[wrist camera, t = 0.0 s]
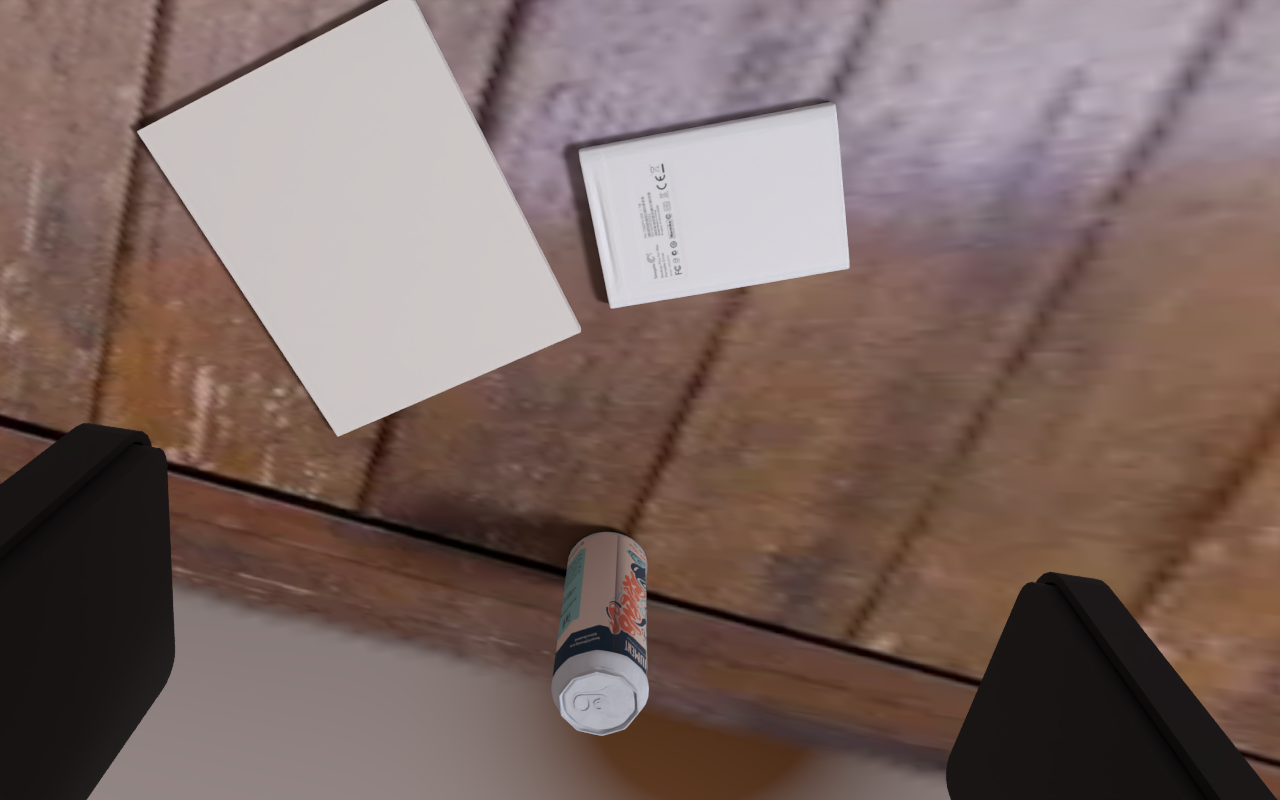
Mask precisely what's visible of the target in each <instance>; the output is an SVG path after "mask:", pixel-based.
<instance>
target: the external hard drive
mask: <svg viewBox="0 0 1280 800" xmlns="http://www.w3.org/2000/svg"><path fill="white" fill-rule="evenodd" d="M579 158H580V164H581V168H582V173H583V177H584V182H585V187H586V192H587V197H588V202H589V207H590V211H591V217H592V221H593V226H594V231H595V236H596V241H597V246H598V251H599V256H600V261H601V266H602V271H603V276H604V281H605V286H606V291H607V296H608V301H609V305H610V308H618V307H624V306H629V305H635V304H642V303H648V302H654V301H660V300H666V299H673V298H679V297H685V296H691V295H697V294H702V293H708V292H714V291H720V290H726V289H732V288H738V287H744V286H750V285H756V284H762V283H768V282H774V281H780V280H786V279H792V278H797V277H803V276H808V275H814V274H820V273H826V272H832V271H838V270H843V269H848V268H849V252H848V240H847V228H846V217H845V205H844V194H843V182H842V170H841V159H840V147H839V133H838V122H837V112H836V105H835V104H834V103H832V102H827V103H822V104H817V105H811V106H806V107H800V108H794V109H790V110H784V111H779V112H774V113H769V114H763V115H758V116H753V117H747V118H742V119H736V120H731V121H725V122H721V123H715V124H710V125H704V126H699V127H694V128H688V129H683V130H677V131H672V132H667V133H661V134H656V135H650V136H645V137H640V138H634V139H629V140H624V141H618V142H613V143H608V144H603V145H596V146H591V147H586V148H581V149H580V150H579Z"/></svg>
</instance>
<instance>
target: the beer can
mask: <svg viewBox="0 0 1280 800" xmlns="http://www.w3.org/2000/svg"><path fill="white" fill-rule="evenodd" d="M646 574H647V559H646V555H645V553H644V551H643V550H642V548H641V547H640V546H639V545H638V544H637V543H636V542H635V541H634V540H632V539H631V538H629V537H627V536H625V535H622V534H619V533H615V532H600V533H594V534H591V535H589V536H587V537H585V538H583V539H582V540H580V541H579V542H578V543H577V544H576V545H575V546H574V548H573V549H572V550H571V552H570V555H569V557H568V564H567V572H566V579H565V587H564V595H563V602H562V610H561V618H560V626H559V633H558V641H557V649H556V656H555V664H554V672H553V679H552V696H553V700H554V702H555V704H556V706H557V708H558V709H559V711H560V712H561V716H562V717H563V718H565V719H566V720H567V721H568V722H569V723H570V724H571V725H572V726H573V727H574V728H575V729H576V730H578V731H582V732H587V733H591V734H596V735H601V736H602V735H606V734H610V733H613V732H617V731H620V730H624V729H626V728H627V726H628V725H629V724H630V723H631V722H632V721H633V720H634V718H635V717H636V716H637V715H638V714H639V712H640V711H641V710H642V708H643V707H644V706H645V704H646V701H647V699H648V692H649V686H648V680H647V603H646Z"/></svg>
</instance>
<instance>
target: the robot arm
mask: <svg viewBox="0 0 1280 800" xmlns="http://www.w3.org/2000/svg"><path fill="white" fill-rule="evenodd" d="M174 658H175V637H174V613H173V590H172V567H171V544H170V521H169V498H168V475H167V460H166V455H165V453H164V451H163V450H162V449H160V448H155V447H152V446H151V442H150V439H149V437H148V435H146V434H145V433H144V432H142V431H136V430H129V429H123V428H116V427H110V426H103V425H97V424H90V423H83V424H81V425H79V426H77V427H75V428H74V429H72V430H71V431H70V432H68V433H67V434H66V435H65V436H63V437H62V438H61V439H59V440H58V441H57V442H55V443H54V444H53V445H51V446H50V447H49V448H47V449H46V450H45V451H44V452H42V453H41V454H40V455H38V456H37V457H36V458H34V459H33V460H32V461H30V462H29V463H28V464H27V465H25V466H24V467H23V468H21V469H20V470H19V471H17V472H16V473H15V474H13V475H12V476H11V477H10V478H8V479H7V480H6V481H4V482H3V483H2V484H0V800H87V798H88V797H89V795H90V794H91V793H92V791H93V790H94V788H95V787H96V785H97V784H98V782H99V781H100V779H101V778H102V777H103V775H104V774H105V772H106V771H107V769H108V768H109V766H110V765H111V764H112V762H113V761H114V759H115V758H116V756H117V755H118V753H119V752H120V750H121V749H122V748H123V746H124V745H125V743H126V741H127V740H128V739H129V737H130V736H131V734H132V733H133V732H134V730H135V729H136V727H137V726H138V724H139V723H140V722H141V720H142V718H143V717H144V716H145V714H146V713H147V711H148V710H149V708H150V707H151V706H152V704H153V703H154V701H155V699H156V698H157V697H158V695H159V694H160V692H161V691H162V690H163V688H164V686H165V685H166V683H167V680H168V678H169V676H170V674H171V670H172V667H173V663H174ZM946 781H947V789H948V792H949V795H950V798H951V800H1277V799H1276V798H1275V796H1274V795H1273V794H1272V793H1271V791H1270V790H1269V789H1268V787H1267V786H1266V785H1265V784H1264V782H1263V781H1262V780H1261V779H1260V777H1259V776H1258V775H1257V774H1256V772H1255V771H1254V770H1253V768H1252V767H1251V766H1250V765H1249V763H1248V762H1247V761H1246V760H1245V758H1244V757H1243V756H1242V755H1241V753H1240V752H1239V751H1238V749H1237V748H1236V747H1235V746H1234V744H1233V743H1232V742H1231V741H1230V739H1229V738H1228V737H1227V736H1226V734H1225V733H1224V732H1223V730H1222V729H1221V728H1220V727H1219V725H1218V724H1217V723H1216V722H1215V720H1214V719H1213V718H1212V717H1211V715H1210V714H1209V713H1208V711H1207V710H1206V709H1205V708H1204V706H1203V705H1202V704H1201V703H1200V701H1199V700H1198V699H1197V698H1196V696H1195V695H1194V694H1193V692H1192V691H1191V690H1190V689H1189V687H1188V686H1187V685H1186V684H1185V682H1184V681H1183V680H1182V679H1181V677H1180V676H1179V675H1178V673H1177V672H1176V671H1175V670H1174V668H1173V667H1172V666H1171V665H1170V663H1169V662H1168V661H1167V660H1166V658H1165V657H1164V656H1163V654H1162V653H1161V652H1160V651H1159V649H1158V648H1157V647H1156V646H1155V644H1154V643H1153V642H1152V641H1151V639H1150V638H1149V637H1148V635H1147V634H1146V633H1145V632H1144V630H1143V629H1142V628H1141V627H1140V625H1139V624H1138V623H1137V622H1136V620H1135V619H1134V618H1133V616H1132V615H1131V614H1130V613H1129V611H1128V610H1127V609H1126V608H1125V606H1124V605H1123V604H1122V603H1121V601H1120V600H1119V599H1118V597H1117V596H1116V595H1115V594H1114V592H1113V591H1112V590H1111V589H1110V587H1109V586H1108V585H1107V584H1105V583H1104V582H1103V581H1101V580H1098V579H1093V578H1086V577H1080V576H1073V575H1067V574H1060V573H1054V572H1048V573H1045V574H1043V575H1042V576H1041V577H1040V578H1039V579H1038V580H1037V581H1036V583H1034V582H1030V583H1027V584H1026V585H1025V586H1024V587H1022V589H1021V591H1020V593H1019V595H1018V597H1017V599H1016V602H1015V604H1014V606H1013V609H1012V611H1011V613H1010V616H1009V618H1008V620H1007V623H1006V625H1005V627H1004V630H1003V632H1002V634H1001V637H1000V639H999V641H998V644H997V646H996V649H995V651H994V653H993V656H992V658H991V660H990V663H989V665H988V667H987V670H986V672H985V674H984V677H983V679H982V681H981V684H980V686H979V688H978V691H977V693H976V695H975V698H974V700H973V702H972V705H971V707H970V709H969V712H968V714H967V716H966V719H965V721H964V723H963V726H962V728H961V730H960V733H959V735H958V737H957V740H956V742H955V744H954V747H953V749H952V751H951V754H950V756H949V759H948V762H947V769H946Z"/></svg>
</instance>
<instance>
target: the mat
mask: <svg viewBox="0 0 1280 800" xmlns="http://www.w3.org/2000/svg"><path fill="white" fill-rule="evenodd" d="M137 133H138V134H139V136H140V137H141V139H142V140H143V142H144V143H145V145H146V146H147V148H148V149H149V151H150V152H151V154H152V155H153V157H154V158H155V160H156V161H157V163H158V164H159V166H160V168H161V169H162V171H163V172H164V174H165V175H166V177H167V178H168V180H169V181H170V183H171V184H172V186H173V187H174V189H175V190H176V192H177V193H178V195H179V196H180V198H181V199H182V201H183V202H184V204H185V205H186V207H187V209H188V210H189V212H190V213H191V215H192V216H193V218H194V219H195V221H196V222H197V224H198V225H199V227H200V228H201V230H202V231H203V233H204V234H205V236H206V237H207V239H208V240H209V242H210V243H211V245H212V246H213V248H214V250H215V251H216V253H217V254H218V256H219V257H220V259H221V260H222V262H223V263H224V265H225V266H226V268H227V269H228V271H229V272H230V274H231V275H232V277H233V278H234V280H235V281H236V283H237V284H238V286H239V287H240V289H241V291H242V292H243V294H244V295H245V297H246V298H247V300H248V301H249V303H250V304H251V306H252V307H253V309H254V310H255V312H256V313H257V315H258V316H259V318H260V319H261V321H262V322H263V324H264V325H265V327H266V329H267V330H268V332H269V333H270V335H271V336H272V338H273V339H274V341H275V342H276V344H277V345H278V347H279V348H280V350H281V351H282V353H283V354H284V356H285V357H286V359H287V360H288V362H289V363H290V365H291V366H292V368H293V370H294V371H295V373H296V374H297V376H298V377H299V379H300V380H301V382H302V383H303V385H304V386H305V388H306V389H307V391H308V392H309V394H310V395H311V397H312V398H313V400H314V401H315V403H316V404H317V406H318V407H319V409H320V411H321V412H322V414H323V415H324V417H325V418H326V420H327V421H328V423H329V424H330V426H331V427H332V429H333V430H334V432H335V433H336V435H337V436H341V435H343V434H345V433H348V432H350V431H352V430H354V429H357V428H359V427H361V426H364V425H366V424H368V423H371V422H373V421H375V420H378V419H380V418H382V417H385V416H387V415H389V414H392V413H394V412H396V411H399V410H401V409H403V408H406V407H408V406H410V405H413V404H415V403H417V402H420V401H422V400H424V399H427V398H429V397H431V396H434V395H436V394H438V393H441V392H443V391H445V390H447V389H450V388H452V387H454V386H457V385H459V384H461V383H464V382H466V381H468V380H471V379H473V378H475V377H478V376H480V375H482V374H485V373H487V372H489V371H492V370H494V369H496V368H499V367H501V366H503V365H506V364H508V363H510V362H513V361H515V360H517V359H520V358H522V357H524V356H527V355H529V354H531V353H534V352H536V351H538V350H541V349H543V348H545V347H547V346H550V345H552V344H554V343H557V342H559V341H561V340H564V339H566V338H568V337H571V336H573V335H575V334H578V333H580V332H581V327H580V325H579V323H578V321H577V319H576V317H575V315H574V313H573V311H572V309H571V307H570V305H569V303H568V301H567V299H566V297H565V295H564V293H563V291H562V289H561V287H560V285H559V283H558V282H557V280H556V278H555V276H554V274H553V272H552V270H551V268H550V266H549V264H548V262H547V260H546V258H545V256H544V254H543V252H542V250H541V248H540V246H539V244H538V242H537V240H536V238H535V236H534V234H533V232H532V230H531V228H530V226H529V224H528V222H527V220H526V218H525V216H524V214H523V212H522V210H521V208H520V206H519V204H518V203H517V201H516V199H515V197H514V195H513V193H512V191H511V189H510V187H509V185H508V183H507V181H506V179H505V177H504V175H503V173H502V171H501V169H500V167H499V165H498V163H497V161H496V159H495V157H494V155H493V153H492V151H491V149H490V147H489V145H488V143H487V141H486V139H485V137H484V135H483V133H482V131H481V129H480V127H479V125H478V123H477V122H476V120H475V118H474V116H473V114H472V112H471V110H470V108H469V106H468V104H467V102H466V100H465V98H464V96H463V94H462V92H461V90H460V88H459V86H458V84H457V82H456V80H455V78H454V76H453V74H452V72H451V70H450V68H449V66H448V64H447V62H446V60H445V58H444V56H443V54H442V52H441V50H440V48H439V46H438V44H437V42H436V41H435V39H434V37H433V35H432V33H431V31H430V29H429V27H428V25H427V23H426V21H425V19H424V17H423V15H422V13H421V11H420V9H419V7H418V5H417V3H416V1H415V0H388V1H386V2H384V3H382V4H380V5H378V6H377V7H375V8H373V9H371V10H369V11H367V12H365V13H363V14H361V15H359V16H357V17H355V18H354V19H352V20H350V21H348V22H346V23H344V24H342V25H340V26H338V27H336V28H334V29H332V30H330V31H329V32H327V33H325V34H323V35H321V36H319V37H317V38H315V39H313V40H311V41H309V42H307V43H306V44H304V45H302V46H300V47H298V48H296V49H294V50H292V51H290V52H288V53H286V54H284V55H283V56H281V57H279V58H277V59H275V60H273V61H271V62H269V63H267V64H265V65H263V66H261V67H260V68H258V69H256V70H254V71H252V72H250V73H248V74H246V75H244V76H242V77H240V78H238V79H236V80H235V81H233V82H231V83H229V84H227V85H225V86H223V87H221V88H219V89H217V90H215V91H213V92H212V93H210V94H208V95H206V96H204V97H202V98H200V99H198V100H196V101H194V102H192V103H190V104H189V105H187V106H185V107H183V108H181V109H179V110H177V111H175V112H173V113H171V114H169V115H167V116H166V117H164V118H162V119H160V120H158V121H156V122H154V123H152V124H150V125H148V126H146V127H144V128H142V129H141V130H139V131H137Z"/></svg>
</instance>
